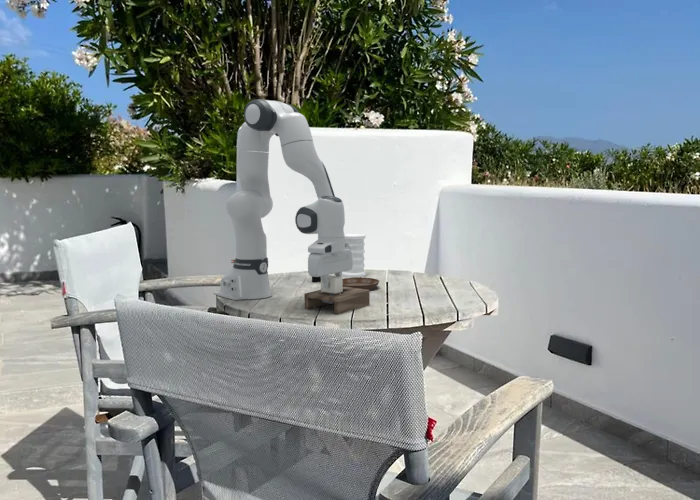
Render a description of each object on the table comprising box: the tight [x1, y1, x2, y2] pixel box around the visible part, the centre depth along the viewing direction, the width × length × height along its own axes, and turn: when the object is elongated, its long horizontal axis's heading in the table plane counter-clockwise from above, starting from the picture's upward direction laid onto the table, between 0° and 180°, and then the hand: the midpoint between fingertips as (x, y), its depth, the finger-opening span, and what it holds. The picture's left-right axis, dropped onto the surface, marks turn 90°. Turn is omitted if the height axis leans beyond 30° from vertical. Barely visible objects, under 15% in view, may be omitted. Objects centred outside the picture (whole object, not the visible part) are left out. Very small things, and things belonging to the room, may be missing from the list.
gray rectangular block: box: [320, 274, 343, 305], centre depth 205 cm, size 6×4×8 cm
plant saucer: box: [342, 277, 380, 291], centre depth 243 cm, size 18×18×3 cm
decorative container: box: [341, 233, 367, 278], centre depth 273 cm, size 12×12×18 cm
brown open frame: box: [303, 287, 371, 315], centre depth 208 cm, size 14×18×5 cm
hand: (331, 286), depth 205 cm, fingers closed on gray rectangular block, 4 cm apart
